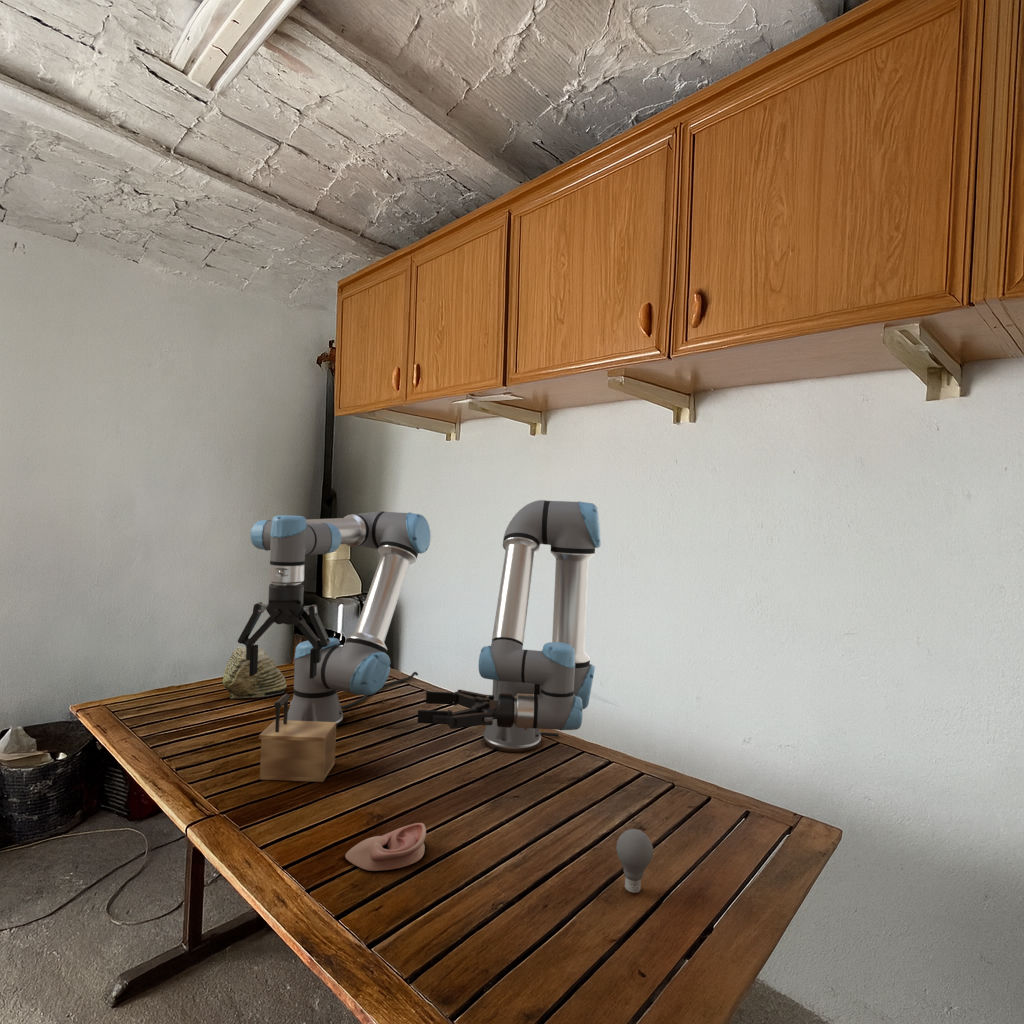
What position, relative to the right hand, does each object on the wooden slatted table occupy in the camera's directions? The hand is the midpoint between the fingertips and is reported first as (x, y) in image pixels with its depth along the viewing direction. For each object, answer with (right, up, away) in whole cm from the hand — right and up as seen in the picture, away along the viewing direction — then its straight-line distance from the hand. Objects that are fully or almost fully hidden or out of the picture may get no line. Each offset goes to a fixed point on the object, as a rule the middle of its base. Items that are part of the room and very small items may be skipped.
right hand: (422, 706), depth 146 cm
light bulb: (+41, -19, -40) cm, 60 cm away
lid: (-28, -6, 0) cm, 29 cm away
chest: (-28, -15, 0) cm, 32 cm away
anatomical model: (-2, -17, -32) cm, 36 cm away
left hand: (-32, +7, -1) cm, 33 cm away
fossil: (-60, -13, +53) cm, 81 cm away
